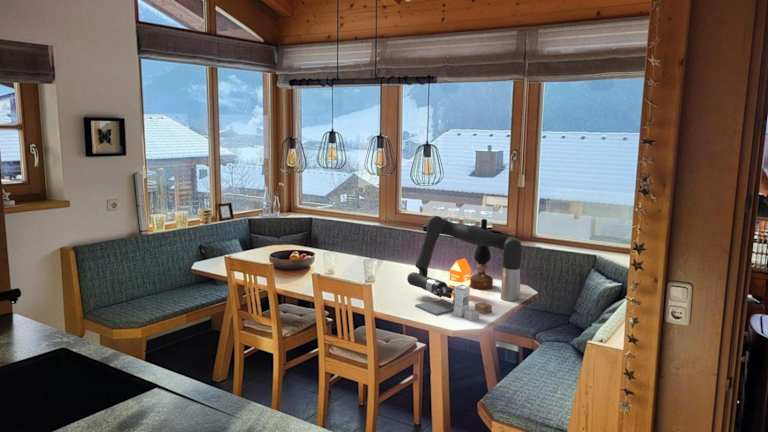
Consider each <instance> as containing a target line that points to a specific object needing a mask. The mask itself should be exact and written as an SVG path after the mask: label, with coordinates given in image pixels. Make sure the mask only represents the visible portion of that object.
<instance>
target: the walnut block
mask: <svg viewBox="0 0 768 432" xmlns="http://www.w3.org/2000/svg"><path fill="white" fill-rule="evenodd" d="M474 310H476V311H479V315H480V314H481V315H487V314H492V313H493V305H492V304H490V303H487V302H485V301H483V302H477V303H475V304H474Z"/></svg>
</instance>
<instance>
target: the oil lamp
mask: <svg viewBox="0 0 768 432" xmlns="http://www.w3.org/2000/svg"><path fill="white" fill-rule="evenodd" d="M480 228H481V229H484V230H487V231H488V219H485V218H482V219H481V222H480ZM476 246H477V247H476V249H475V251H474V254H473V258H474V260H475V261H476V262H477V264H476V268H477V273H475V274H473V275H470V289H474V290H479V291H488V290H492V289H493V288H494V286H493V283H494V282H493V281H494V279H493V277H492V276H491V275H488V274H486V271H487V268H488V266H487V264H488V263H489V261H491V258H492V257H491V252H490V248H489V246H480V245H476Z"/></svg>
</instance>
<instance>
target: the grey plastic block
mask: <svg viewBox="0 0 768 432" xmlns="http://www.w3.org/2000/svg"><path fill="white" fill-rule="evenodd" d="M463 317H464V320H467V321H469V322H474V321H479V320H480V313H479V311H476V310H475V309H473V308H470V309H468V310H466V311H465V314H464V316H463Z"/></svg>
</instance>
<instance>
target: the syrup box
mask: <svg viewBox="0 0 768 432" xmlns="http://www.w3.org/2000/svg"><path fill="white" fill-rule="evenodd" d="M470 289H471V288H470V287H469V286H467V285H463V284H459V285H457V286H454V296H452V298H453V301H452V303H453V312H451V313H452V314H453V316H454V315H455V316H457V317H458V316H459V317H464V314H465V311H466V310H469V304H470V295H469V291H470Z"/></svg>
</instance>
